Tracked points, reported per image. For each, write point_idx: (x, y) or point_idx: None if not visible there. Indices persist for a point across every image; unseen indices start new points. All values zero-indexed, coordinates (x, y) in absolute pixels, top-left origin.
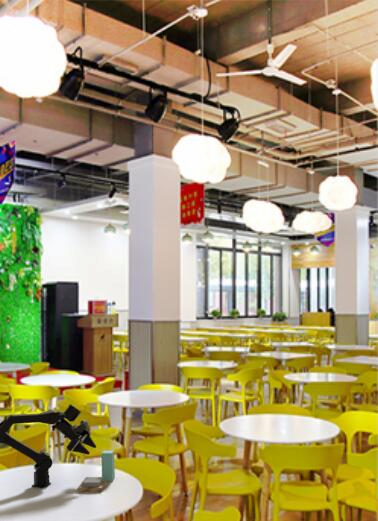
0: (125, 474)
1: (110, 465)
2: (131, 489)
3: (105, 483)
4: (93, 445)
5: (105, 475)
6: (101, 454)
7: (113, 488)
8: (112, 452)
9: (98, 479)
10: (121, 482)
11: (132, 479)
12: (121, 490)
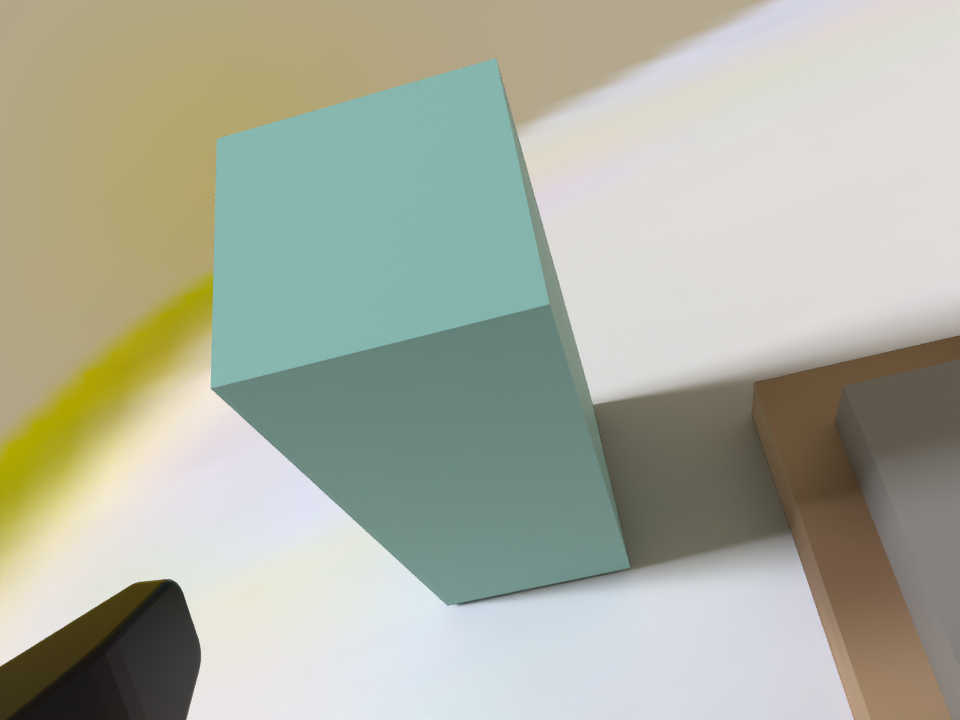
0: None
1: (557, 284)
2: (846, 44)
3: (897, 354)
4: (133, 707)
5: (605, 469)
6: (552, 325)
7: (894, 252)
8: (417, 81)
9: None
10: (593, 275)
11: None
12: (936, 123)
